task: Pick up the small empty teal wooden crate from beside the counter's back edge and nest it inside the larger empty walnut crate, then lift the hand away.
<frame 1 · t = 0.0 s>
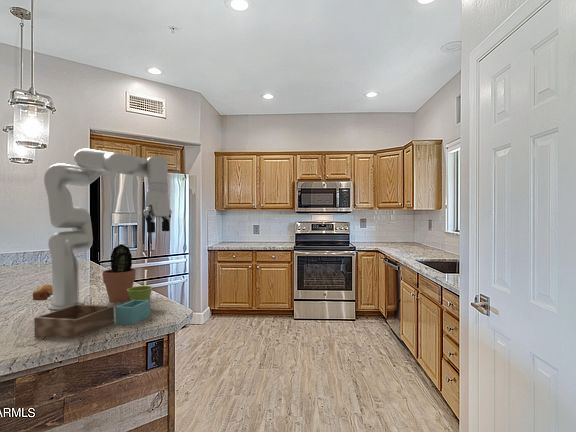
hand: (158, 231, 134), 31 cm above the counter, tool pointing down, fingers open, 9 cm apart
potted plant: (120, 299, 155), on the counter
crate large: (76, 329, 115), on the counter
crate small: (133, 320, 124), on the counter
plant pot: (140, 310, 137), on the counter
bread roll: (46, 298, 162), on the counter
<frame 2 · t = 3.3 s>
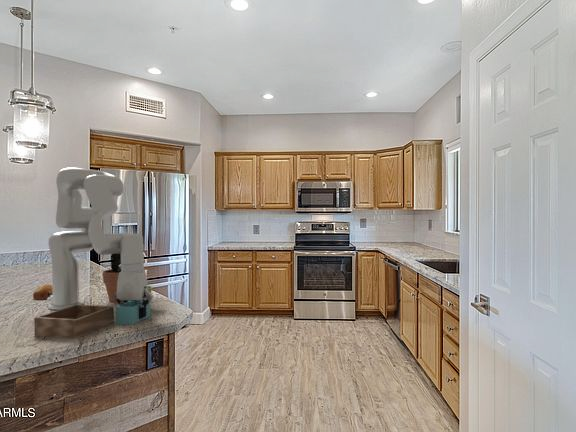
hand: (133, 316, 124), 1 cm above the counter, tool pointing down, fingers closed on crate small, 6 cm apart
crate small: (133, 319, 124), on the counter, touching gripper
everything else where it was.
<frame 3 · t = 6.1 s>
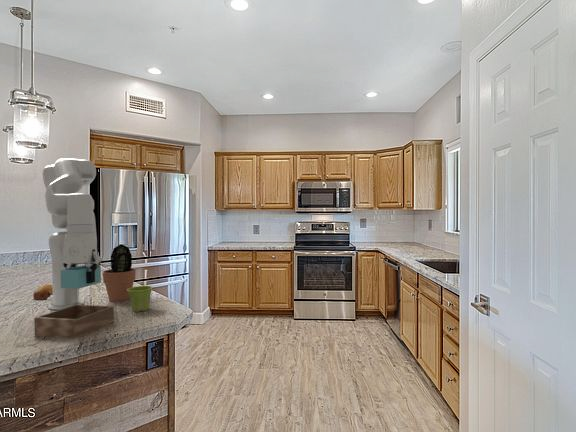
hand: (81, 282, 116), 15 cm above the counter, tool pointing down, fingers closed on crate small, 6 cm apart
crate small: (81, 285, 116), point 14 cm above the counter, touching gripper
everything else where it was.
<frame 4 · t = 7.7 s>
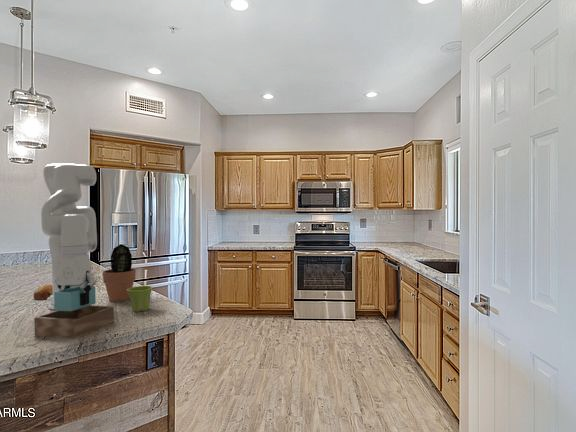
hand: (75, 303, 115), 8 cm above the counter, tool pointing down, fingers closed on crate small, 6 cm apart
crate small: (75, 306, 115), point 7 cm above the counter, touching gripper
everything else where it was.
when the fingers open (4 cm above the counter, at t = 9.1 s): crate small drops 2 cm, resting on crate large.
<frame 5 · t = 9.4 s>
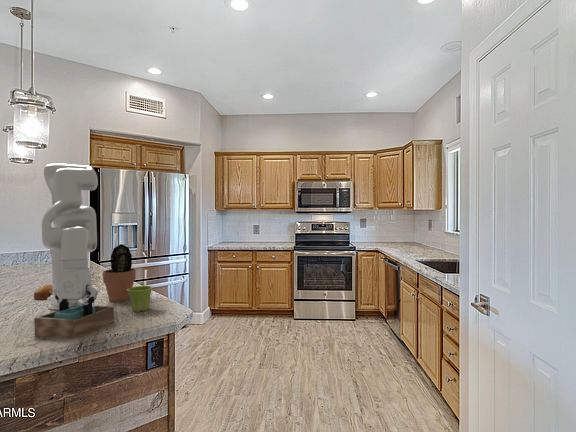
hand: (76, 315, 115), 4 cm above the counter, tool pointing down, fingers open, 9 cm apart
crate large: (76, 329, 115), on the counter, touching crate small
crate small: (76, 327, 115), resting on crate large
everything else where it was.
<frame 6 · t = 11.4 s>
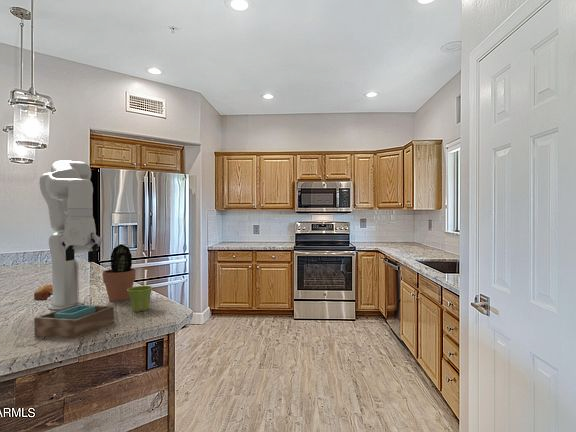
hand: (81, 261, 123), 22 cm above the counter, tool pointing down, fingers open, 9 cm apart
nothing on the counter moved.
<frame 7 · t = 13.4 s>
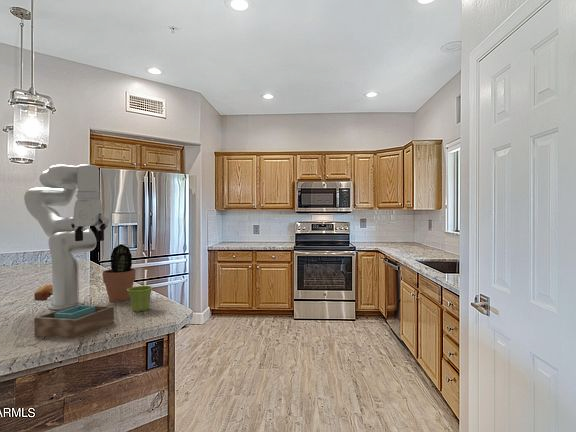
hand: (89, 240, 132), 28 cm above the counter, tool pointing down, fingers open, 9 cm apart
at the end: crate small inside the target area on the crate large (0.1 cm from its centre), point 0.8 cm above the crate large's base; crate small tilted 0°; the gripper is holding nothing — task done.
